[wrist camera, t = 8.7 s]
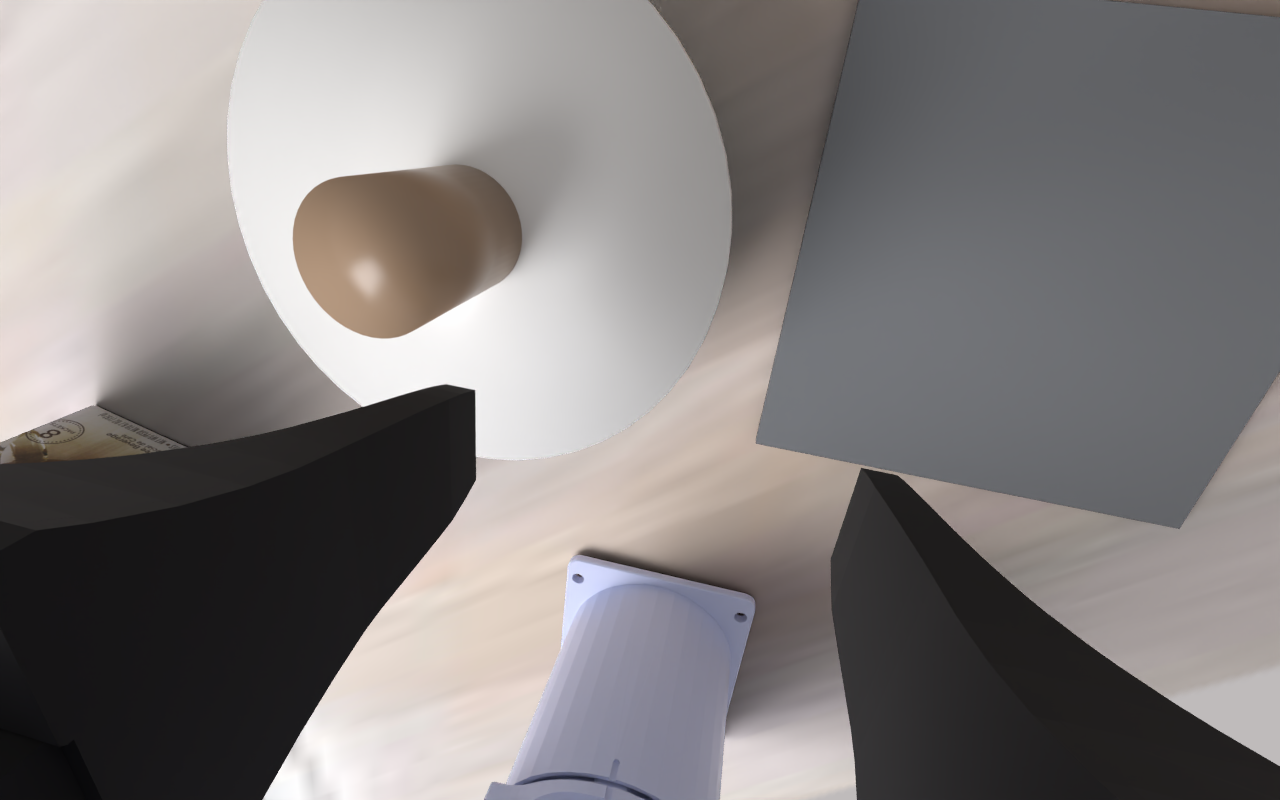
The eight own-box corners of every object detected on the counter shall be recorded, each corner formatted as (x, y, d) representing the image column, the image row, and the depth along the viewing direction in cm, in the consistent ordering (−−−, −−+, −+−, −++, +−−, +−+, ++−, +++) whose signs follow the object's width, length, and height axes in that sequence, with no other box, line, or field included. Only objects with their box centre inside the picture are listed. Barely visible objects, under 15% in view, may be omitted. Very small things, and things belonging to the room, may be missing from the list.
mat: (1172, 521, 20) (1179, 528, 20) (756, 438, 22) (755, 443, 21) (1473, 40, 14) (1491, 38, 14) (863, -20, 16) (865, -24, 15)
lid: (688, 486, 17) (660, 603, 13) (287, 401, 19) (147, 480, 15) (788, -62, 12) (797, -171, 7) (208, -114, 13) (-56, -227, 9)
